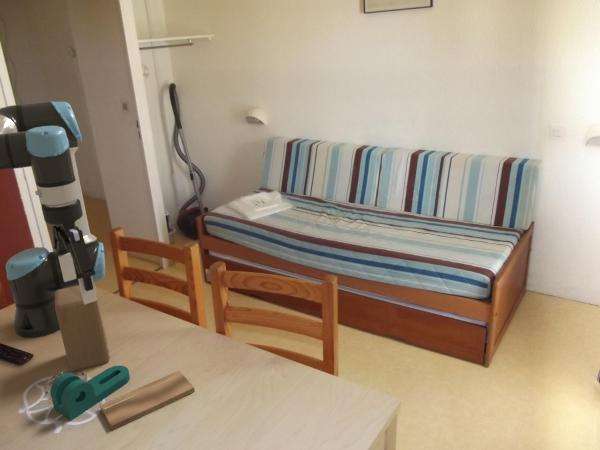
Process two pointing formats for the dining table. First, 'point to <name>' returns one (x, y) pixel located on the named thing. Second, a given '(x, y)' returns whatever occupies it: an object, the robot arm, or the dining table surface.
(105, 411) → the plank
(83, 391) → the bracket
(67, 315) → the block
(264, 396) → the dining table surface
